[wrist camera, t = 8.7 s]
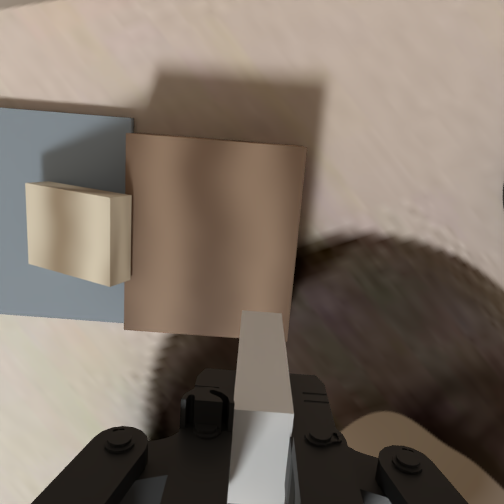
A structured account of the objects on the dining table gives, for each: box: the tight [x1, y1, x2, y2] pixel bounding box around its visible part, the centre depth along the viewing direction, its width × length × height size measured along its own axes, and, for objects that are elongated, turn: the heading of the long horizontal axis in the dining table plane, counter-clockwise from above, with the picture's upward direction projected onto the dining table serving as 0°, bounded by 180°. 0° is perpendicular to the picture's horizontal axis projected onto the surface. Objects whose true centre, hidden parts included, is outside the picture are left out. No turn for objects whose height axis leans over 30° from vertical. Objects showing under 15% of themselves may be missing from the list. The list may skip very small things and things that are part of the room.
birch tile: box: [25, 181, 132, 287], centre depth 33 cm, size 8×6×2 cm
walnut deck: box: [124, 133, 307, 342], centre depth 35 cm, size 12×14×4 cm
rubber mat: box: [0, 108, 134, 323], centre depth 36 cm, size 12×16×1 cm
